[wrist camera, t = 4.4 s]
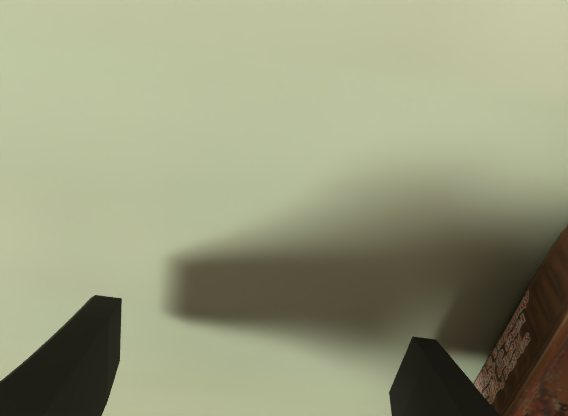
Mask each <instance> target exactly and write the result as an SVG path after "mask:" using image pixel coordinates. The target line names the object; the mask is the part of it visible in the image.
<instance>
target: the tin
mask: <svg viewBox="0 0 568 416" xmlns="http://www.w3.org/2000/svg"><path fill="white" fill-rule="evenodd" d="M473 384H474V386H475V387H476V388H477V389H478V390H479V392H480V393H481V394H482V395H483V396H484V397H485V399H486V400H487V401H488V402H489V403H490V404H491V406H492V407H493V408H494V409H495V410H496V411H497V412H498V414H499V415H500V416H568V226H567V227H566V228H565V230H564V231H563V232H562V233H561V235H560V236H559V238H558V239H557V240H556V242H555V243H554V245H553V246H552V248H551V249H550V251H549V253H548V255H547V256H546V258H545V260H544V261H543V263H542V265H541V267H540V268H539V270H538V272H537V273H536V275H535V277H534V279H533V280H532V282H531V284H530V286H529V287H528V289H527V291H526V293H525V295H524V296H523V298H522V300H521V302H520V303H519V305H518V307H517V309H516V311H515V312H514V314H513V316H512V318H511V319H510V321H509V323H508V325H507V326H506V328H505V330H504V331H503V333H502V335H501V337H500V338H499V340H498V342H497V343H496V345H495V347H494V349H493V350H492V352H491V354H490V355H489V357H488V359H487V361H486V362H485V364H484V366H483V368H482V369H481V371H480V373H479V375H478V376H477V378H476V380H475V382H474V383H473Z"/></svg>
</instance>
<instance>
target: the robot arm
mask: <svg viewBox="0 0 568 416" xmlns="http://www.w3.org/2000/svg"><path fill="white" fill-rule="evenodd" d="M121 303H122V299H121V298H113V297H106V296H98V295H95V296H93V297H92V298H90V299H89V300H88V301H87V302H86V303H85V305H84V306H83V307H82V308H81V309H80V310H79V311H78V312H77V313H76V314H75V315H74V316H73V317H72V318H71V319H70V320H69V321H68V322H67V323H66V324H65V325H64V326H63V327H61V328H60V329H59V330H58V331H57V332H56V333H55V334H54V335H53V336H52V337H51V338H50V339H49V340H48V341H47V342H45V343H44V344H43V345H42V346H41V347H40V348H39V349H38V350H37V351H36V352H34V353H33V354H32V355H31V356H30V357H29V358H28V359H27V360H25V361H24V362H23V363H22V364H21V365H20V366H18V367H17V368H16V369H15V370H14V371H12V372H11V373H10V374H9V375H7V376H6V377H5V378H4V379H3V380H1V381H0V416H101V415H102V413H103V411H104V408H105V406H106V404H107V401H108V398H109V395H110V391H111V388H112V385H113V382H114V378H115V375H116V371H117V368H118V365H119V361H120V335H121ZM389 395H390V403H391V412H392V416H500V415H499V414H498V412H497V411H496V410H495V409H494V408H493V407H492V406H491V404H490V403H489V402H488V401H487V400H486V399H485V397H484V396H483V395H482V394H481V393H480V392H479V390H478V389H477V388H476V387H475V386H474V384H473V383H472V382H471V381H470V380H469V378H468V377H467V376H466V375H465V374H464V372H463V371H462V370H461V369H460V368H459V366H458V365H457V364H456V363H455V362H454V360H453V359H452V358H451V357H450V356H449V354H448V353H447V352H446V351H445V350H444V348H443V347H442V346H441V345H440V344H439V343H438V342H437V340H435V339H427V338H419V337H412V339H411V342H410V344H409V347H408V349H407V351H406V354H405V356H404V358H403V361H402V363H401V366H400V368H399V370H398V373H397V375H396V377H395V380H394V382H393V385H392V387H391V389H390V392H389Z"/></svg>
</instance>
